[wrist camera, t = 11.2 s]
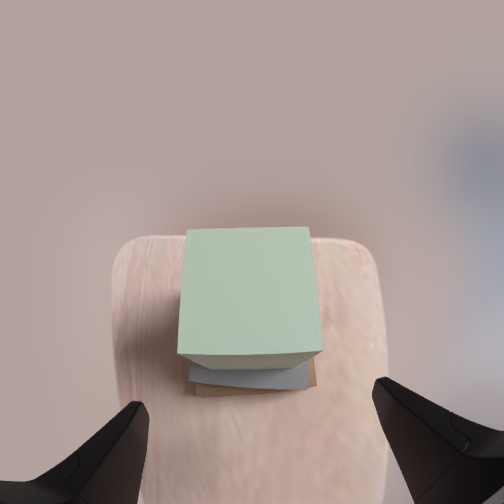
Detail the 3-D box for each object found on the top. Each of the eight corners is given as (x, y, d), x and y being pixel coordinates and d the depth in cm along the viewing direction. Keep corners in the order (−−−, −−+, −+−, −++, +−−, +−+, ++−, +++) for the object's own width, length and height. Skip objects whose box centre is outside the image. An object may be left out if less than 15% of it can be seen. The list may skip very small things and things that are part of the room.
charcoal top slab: (301, 389, 18) (307, 389, 16) (194, 381, 18) (187, 381, 17) (304, 290, 22) (308, 281, 20) (206, 284, 22) (202, 274, 20)
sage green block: (293, 367, 17) (323, 350, 10) (210, 369, 17) (177, 353, 10) (288, 292, 20) (308, 226, 12) (212, 294, 20) (187, 229, 12)
